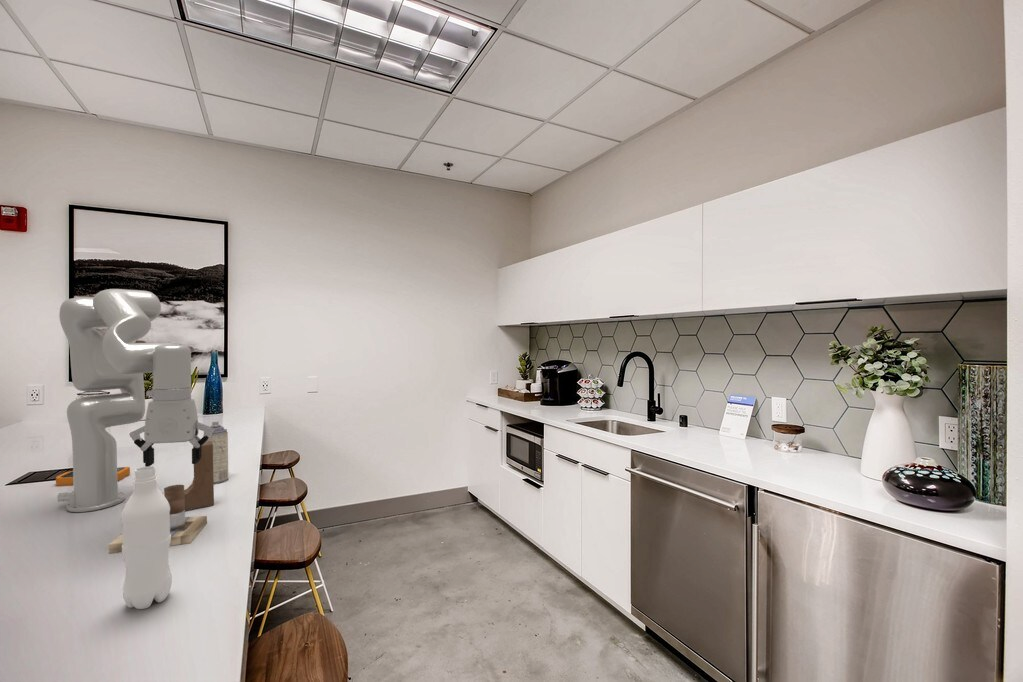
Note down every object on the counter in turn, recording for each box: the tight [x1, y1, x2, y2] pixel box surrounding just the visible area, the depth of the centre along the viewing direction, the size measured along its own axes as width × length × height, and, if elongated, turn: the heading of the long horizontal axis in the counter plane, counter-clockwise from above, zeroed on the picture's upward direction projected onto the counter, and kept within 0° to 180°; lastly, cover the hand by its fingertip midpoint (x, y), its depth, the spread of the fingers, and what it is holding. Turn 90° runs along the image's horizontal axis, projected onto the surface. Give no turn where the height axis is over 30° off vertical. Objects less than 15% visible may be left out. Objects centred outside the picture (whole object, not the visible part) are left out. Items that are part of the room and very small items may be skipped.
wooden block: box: [184, 441, 215, 512], centre depth 132 cm, size 9×4×18 cm, turn 127°
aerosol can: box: [202, 420, 229, 485], centre depth 155 cm, size 7×7×20 cm
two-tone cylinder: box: [163, 484, 186, 532], centre depth 114 cm, size 4×4×12 cm
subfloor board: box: [107, 515, 208, 554], centre depth 113 cm, size 16×12×2 cm
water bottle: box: [120, 465, 173, 610], centre depth 86 cm, size 7×7×25 cm
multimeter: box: [55, 466, 131, 487], centre depth 156 cm, size 9×18×3 cm, turn 106°
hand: (173, 464), depth 114 cm, fingers open, 9 cm apart
